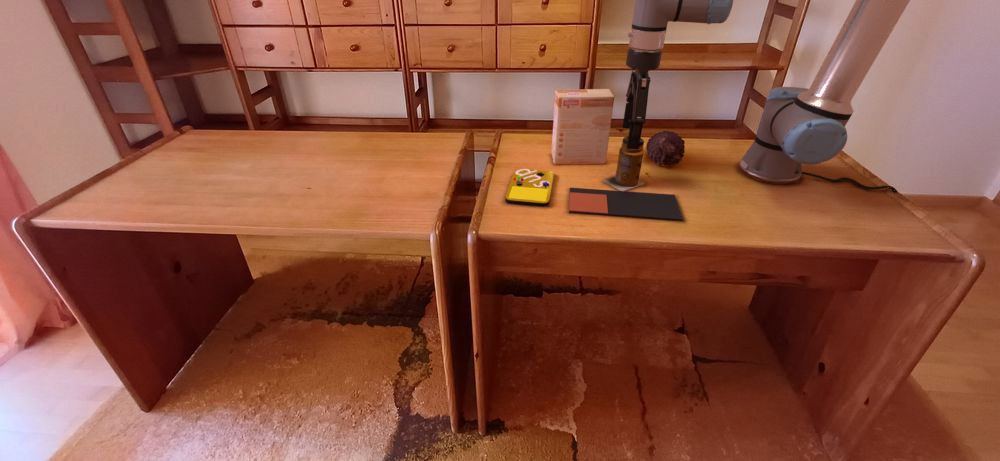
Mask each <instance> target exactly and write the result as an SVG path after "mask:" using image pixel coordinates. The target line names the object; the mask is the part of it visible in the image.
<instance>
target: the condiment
mask: <svg viewBox="0 0 1000 461" xmlns="http://www.w3.org/2000/svg"><path fill="white" fill-rule="evenodd" d="M628 136H629V135H627V136H624V137H623V139H622V143H621V147H620V148H619V151H618V158H617V164H616V171H615V175H614V176H610V177H608V178H604V179H602V181H603V182H604V183H606V184H607V185H609V186H611V187H613V188H615V189H616V190H617V191H628V190H631V189H634V188H637V187H640V186H642V185H645V184H646V182H644V181H642V180H640V175H641V171H642V170H641V169H642V163H643V159H644V152H645V151H644V144H645V140H644V139H643V138H642V137H641V138H640V143H639V149H627V148H626V147H627V141H628Z"/></svg>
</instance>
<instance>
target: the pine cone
mask: <svg viewBox="0 0 1000 461" xmlns="http://www.w3.org/2000/svg"><path fill="white" fill-rule="evenodd" d="M685 143H686V141H685V140H684V139H683V137H682V136H680V135H679V134H678V133H676V132H674V131H669V130H662V131H659V132H657V133H654V134H653V135H652V136H650V138H648V140H647V142H646V146H645V149H646V155H647V156H648V157H649V160H651V161H653V162H654V163H655V164H657V165H658V166H659V167H672V166H676V165H679V164H680V162H681V161H682V160H683V158H684V156H685V155H684V154H685V153H686V152H685V147H686V146H685Z"/></svg>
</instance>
